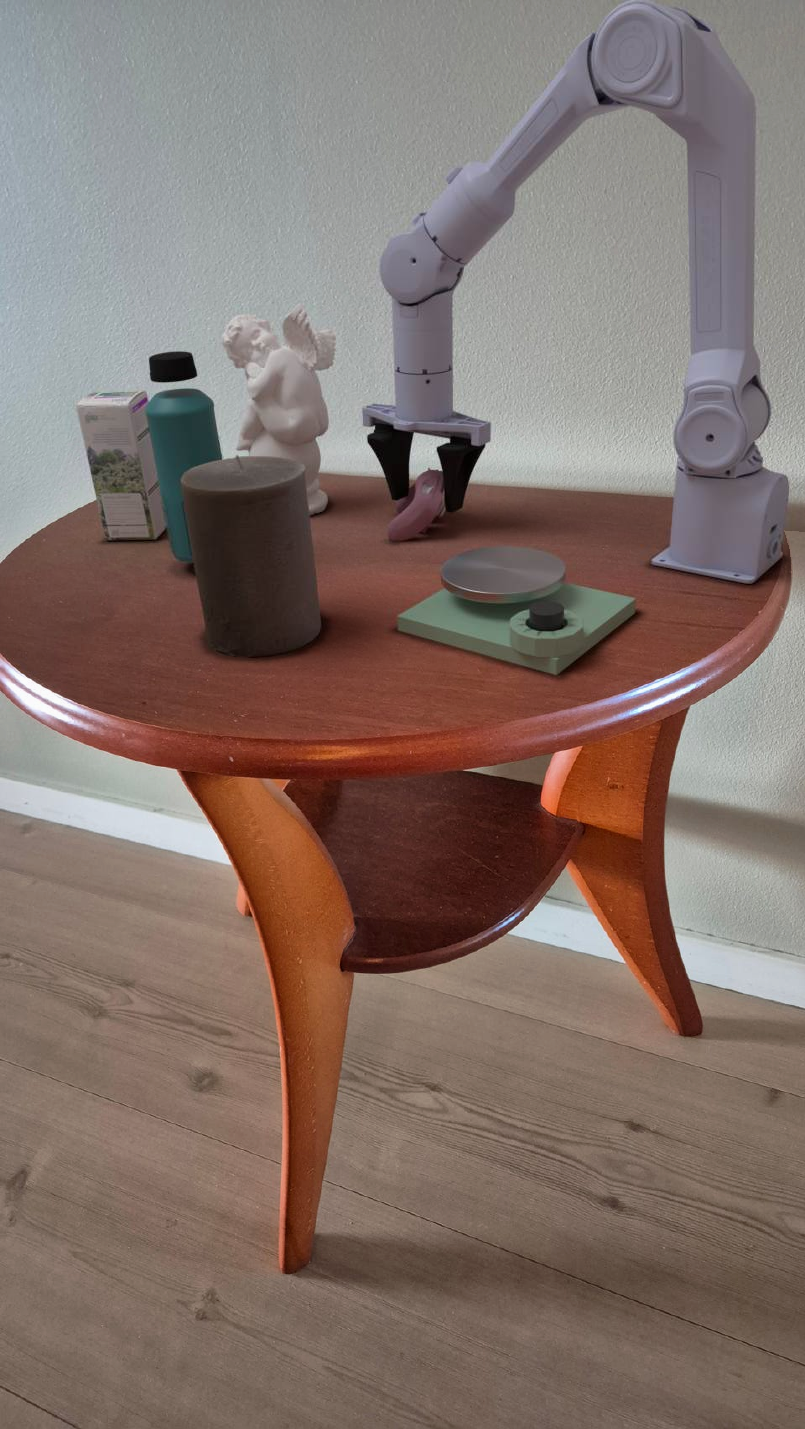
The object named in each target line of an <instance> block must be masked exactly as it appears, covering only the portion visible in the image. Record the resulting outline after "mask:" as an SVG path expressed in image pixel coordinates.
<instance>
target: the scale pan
mask: <svg viewBox="0 0 805 1429" xmlns="http://www.w3.org/2000/svg"><path fill="white" fill-rule="evenodd" d="M439 574H440V584H441V585H442V587H443V589H444V588H445V589H446V590H447V591H448V592H450V593H452V594H454V595H456V596H458V597H461V598H464V599H467V600H472V601H477V602H485V603H516V602H524V601H530V600H534V599H538V598H542V597H544V596H547V595H549V594H552V593H554V592H555V591H557V590H558V589H559V588H561V587H562V585H563V584H564V582H565V583H566V580H567V579H566V578H567V567H566V564H565V562H564V561H563V560H562V559H561V558H560V557H558V556H556V555H554V554H553V553H551V552H548V551H544V550H541V549H537V548H532V547H526V546H516V545H515V546H513V545H501V546H500V545H499V546H488V547H480V548H475V549H470V550H466V551H463V552H460V553H458V554H456V555H454V556H451V557H450V558H449V559H447V560H445V562H444V563H442V566H441V568H440V573H439Z"/></svg>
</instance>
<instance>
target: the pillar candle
mask: <svg viewBox="0 0 805 1429" xmlns="http://www.w3.org/2000/svg"><path fill="white" fill-rule="evenodd" d="M305 468H306V467H305V465H303V464H300V463H298V462H297V461H296V460H291V459H288V458H282V457H271V456H249V455H239V454H235V457H231V458H229V457H228V458H222V460H217V461H213V462H209V463H206V464H202V465H199V466H196V467H193V468H191V469H190V470H188V471H187V472H185V473H184V474H183V476H182V477H181V487H182V493H183V500H184V508H185V514H186V519H187V526H188V532H189V537H190V543H191V549H192V554H193V562H194V563H193V567H194V568H193V569H194V573H195V574H194V575H195V579H196V584H197V588H198V594H199V599H200V601H199V602H200V603H201V605H200V606H201V611H202V615H203V616H202V617H203V621H204V626H205V627H204V628H205V631H206V640H207V643H208V645H209V647H211V648H212V649H213V650H214V651H217V652H220V653H222V654H224V655H228V656H230V657H241V658H259V657H270V656H274V655H275V656H276V655H280V654H281V655H282V654H285V653H289V652H292V651H295V650H297V649H300V648H302V647H304V646H306V645H307V644H308V643H311V642H312V641H313V640H315V639H316V638H317V637H318V635H319V634H320V633H321V630H322V619H321V612H320V610H321V609H320V601H319V600H320V599H319V590H318V579H317V572H316V571H317V570H316V564H315V554H314V545H313V535H312V534H313V533H312V527H311V515H309V506H308V499H307V490H306V481H305V471H306V469H305Z"/></svg>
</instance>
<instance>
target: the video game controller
mask: <svg viewBox="0 0 805 1429" xmlns="http://www.w3.org/2000/svg"><path fill="white" fill-rule="evenodd" d="M443 497H444V479H443V472H442V470H439V469H431V468H430V467H428V469H427V470H426V471H423V472H421V473H420V474H419V475H418V476H417V477H416V480H415V481H414V483H413V484H412V485H410V486H409V493H408V496H406V497H404V498H402V499H400V500H398V501H395V502H396V503H395V509H396V511H397V513H399V514H398V515H397V516H396V517H394V518H393V519H392V520H391V522H390V523H389V525H388V526H387V529H386V534H387V537H388V539H389V540H390V541H392V542H404V541H407V540H410V539H412V538H414V537H415V536H417V535H418V534H419V533H422V534H426V532H427V530H428V528H429V527H430V525H431V524H432V523H433V521H434V519H435V518H436V517H439V518H441V517H442V516H443V515H444V514H445V513H446V509H445V505H443Z"/></svg>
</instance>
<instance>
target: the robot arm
mask: <svg viewBox="0 0 805 1429" xmlns="http://www.w3.org/2000/svg"><path fill="white" fill-rule="evenodd" d="M755 100H756V99H755V95H754V94H753V91H752V89H751V88H750V87H749V85H748V84H747V82H746V80H745V79H744V77H743V76H742V74H741V73H740V71H739V70H738V68H737V67H736V65H735V63H734V62H733V60H732V59H731V57H730V56H729V54H728V52H727V50H726V49H725V48H724V46H723V45H722V42H721V41H720V38H719V36H718V33H717V30H716V28H714V27H713V26H712V25H710V24H709V23H707V22H705V21H704V20H702V19H701V18H699V17H698V16H696V15H694V14H693V13H691V12H690V11H688V10H686V9H684V8H680V7H677V6H669V7H668V6H664V5H661V4H660V3H657V2H655V1H653V0H627V1H624V2H622V3H620V4H618V5H617V6H616V7H614V8H613V9H612V10H610V12H609V13H608V14H607V15H606V16H605V18H604V19H603V20H602V21H601V23H600V25H599V26H598V29H597V31H596V32H591V33H590V34H588V35H587V36H586V37H585V38H584V39H583V40H581V41H580V42H579V43H578V44H577V46H576V47H575V49H574V50H573V51H572V53H571V54H570V56H569V58H568V59H567V60H566V62H565V63H564V64H563V66H562V68H561V69H560V70H559V71H558V73H557V74H556V75H555V76H554V77H553V79H552V80H551V81H550V83H549V84H548V85H547V87H546V88H545V89H544V90H543V91H542V93H541V94H540V95H539V96H538V98H537V99H536V100H535V102H534V103H533V104H532V105H531V107H530V108H529V109H528V111H527V112H526V113H525V114H524V115H523V117H522V118H521V119H520V120H519V122H518V123H517V124H516V126H515V127H514V128H513V129H512V131H511V132H510V133H509V134H508V136H507V137H506V138H505V139H504V141H503V142H502V144H501V145H500V146H499V147H498V148H497V149H496V151H495V152H494V154H492V156H491V157H490V158H489V160H488V161H470V162H467V163H466V164H465V165H464V167H463V166H458V167H453V168H452V169H451V170H450V171H449V173H448V174H447V175H446V176H445V181H446V182H447V183H448V185H447V186H446V188H445V189H444V190H443V191H442V192H441V193H440V194H439V196H438V197H437V198H436V199H435V200H434V202H433V203H432V204H431V205H430V206H429V207H428V208H427V210H426V211H420V212H418V213H417V214H416V215H415V216H414V217H413V218H412V224H413V228H412V232H408V231H407V232H402V233H398V234H395V235H393V236H392V237H390V238H389V240H388V242H387V245H386V246H385V247H384V249H383V251H382V253H381V256H380V260H379V276H380V280H381V283H382V285H383V288H384V289H385V291H386V293H388V295H389V296H390V297H391V313H392V314H391V316H392V342H393V343H392V346H393V347H392V348H393V371H394V372H393V375H394V402H395V404H384V403H383V404H382V403H371V404H367V405H365V406H362V407H361V411H362V413H361V414H362V426H363V427H366V428H373V427H374V429H373V432H370V433H368V434H367V436H366V441H367V444H368V445H369V447H370V449H371V450H372V452H373V453H374V455H375V456H376V458H377V460H378V462H379V464H380V467H381V469H382V472H383V474H384V477H385V480H386V483H387V487H388V490H389V494H390V497H391V500H392V501H395V502H397V501H398V500H400V499H402V498H404V497H406V496H408V493H409V488H410V459H411V451H412V445H413V439H414V434H421V435H426V436H430V437H431V436H432V437H438V438H442V439H449V442H446V443H442V444H441V445H438V446H436V453H437V456H438V460H439V463H440V467H441V471H442V472H443V479H444V491H443V497H444V499H443V501H444V506H445V513H449V514H453V513H455V512H457V511H459V510H462V509H463V506H464V502H465V497H466V494H467V489H468V486H469V482H470V479H471V477H472V475H473V472H474V469H475V467H476V465H477V463H478V460H479V459H480V458H481V455H482V453H483V451H484V450H485V448H486V445H487V444H488V443H490V442H491V440H492V439H491V435H492V434H491V432H492V426H491V425H492V422H491V421H488V420H483V419H479V418H475V417H472V416H469V415H466V414H463V413H461V412H458V411H455V410H454V357H453V356H454V352H453V351H454V347H453V346H454V344H453V342H454V339H453V338H454V336H453V334H454V333H453V328H454V327H453V326H454V325H453V324H454V322H453V321H454V320H453V319H454V318H453V317H454V316H453V305H454V304H453V301H454V300H453V298H454V292H455V290H456V288H458V286H459V284H460V282H461V281H462V279H463V275H464V271H465V267H466V266H467V265H468V264H469V263H470V262H471V261H472V260H473V259H474V258H475V256H476V255H477V254H479V252H480V251H481V250H482V249H483V248H484V247H485V246H486V245H487V243H489V241H491V239H492V238H493V237H494V236H495V235H496V234H497V233H498V232H499V231H500V230H501V229H502V227H503V226H505V224H506V223H508V221H509V220H510V219H511V218H512V217H513V216H514V213H515V206H516V195H517V194H516V193H517V190H518V188H520V187H521V186H522V185H523V184H524V183H525V182H526V181H527V180H528V179H529V178H530V177H531V176H532V175H533V174H534V173H535V172H536V171H537V170H538V169H539V168H540V167H541V166H542V165H543V164H544V163H545V162H546V161H547V160H548V159H549V158H550V157H551V156H552V155H553V154H554V153H555V152H556V151H557V150H558V149H559V148H560V147H561V146H562V145H563V144H564V142H565V141H567V139H569V137H571V135H573V134H574V133H575V132H576V131H577V130H578V129H579V128H580V127H581V126H582V125H583V124H584V123H585V122H586V121H587V120H589V119H591V118H595V117H597V116H601V115H605V114H609V113H611V112H615V111H618V110H623V109H626V108H629V107H633V108H636V109H640V110H643V111H645V112H648V113H651V114H653V115H654V116H655V117H656V118H657V119H658V120H660V121H661V122H662V123H664V124H665V125H666V126H667V127H669V128H670V129H671V130H672V131H674V133H676V134H677V135H679V136H680V137H681V138H682V139H684V141H685V142H686V157H687V165H686V166H687V203H688V204H687V213H688V215H687V216H688V217H687V218H688V220H687V221H688V264H689V265H688V267H689V268H688V270H689V271H688V272H689V275H688V276H689V278H688V279H689V319H690V320H689V327H690V328H689V329H690V330H689V331H690V334H689V335H690V357H689V358H690V359H689V362H688V367H687V371H686V376H685V379H684V384H683V404H682V408H681V412H680V413H679V415H678V418H677V419H676V422H675V423H674V424H675V425H674V428H673V433H672V434H673V435H672V436H673V445H674V449H675V452H676V455H677V458H676V468H675V479H674V490H673V491H674V492H673V502H672V515H671V526H670V539H669V546H668V547H667V548H665V549H664V550H663V551H660V553H659V554H657V555H656V556H654V557H653V558H652V559H651V564H652V565H653V566H656V567H662V568H666V569H671V570H675V571H682V572H687V573H691V574H696V575H700V576H705V577H711V578H715V579H720V580H726V581H730V582H731V581H732V582H737V583H741V584H745V585H746V584H747V585H751V584H753V583H755V582H756V581H757V580H758V579H759V578H760V577H761V576H763V575H764V574H765V573H766V572H767V571H768V570H769V569H771V567H773V566H774V565H775V564H776V563H777V562H778V561H779V560H780V559H781V558H782V557H783V554H784V552H783V551H782V544H783V539H784V532H785V525H786V517H787V510H788V503H789V497H790V481H789V478H788V475H786V474H784V473H781V472H775V471H773V470H770V469H768V468H766V467H765V466H763V463H764V457H763V456H762V454H761V451H760V449H759V447H758V445H756V441H757V440H758V439H759V438H761V436H762V435H763V434H764V432H766V430H767V428H768V426H769V424H770V422H771V417H772V404H771V400H770V396H769V394H768V393H767V390H766V389H765V387H764V385H763V382H762V377H761V361H760V358H759V354H758V353H757V350H756V348H755V345H754V344H755V343H754V342H755V340H754V339H755V336H754V335H755V334H754V333H755V250H756V249H755V248H756V247H755V244H756V242H755V237H756V234H755V233H756V232H755V231H756V230H755V228H756V146H757V145H756V143H757V142H756V139H757V138H756V136H757V135H756V133H757V106H756V101H755Z"/></svg>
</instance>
